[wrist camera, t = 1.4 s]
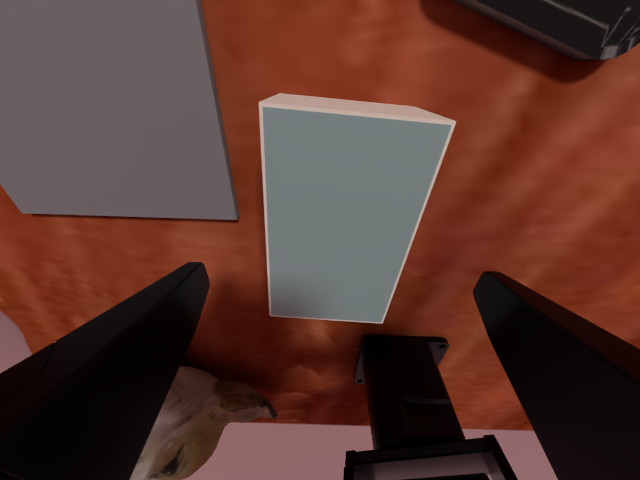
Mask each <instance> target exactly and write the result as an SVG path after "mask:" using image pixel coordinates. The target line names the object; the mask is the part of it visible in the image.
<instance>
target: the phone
mask: <svg viewBox="0 0 640 480" xmlns="http://www.w3.org/2000/svg"><path fill="white" fill-rule="evenodd" d="M454 1H456V2H458V3H460V4H462V5H464V6H466V7H468V8H470V9H472V10H474V11H476V12H479V13H481V14H483V15H485V16H487V17H489V18H491V19H493V20H495V21H497V22H499V23H501V24H503V25H505V26H507V27H509V28H511V29H513V30H515V31H518V32H520V33H522V34H524V35H526V36H528V37H530V38H532V39H534V40H536V41H538V42H540V43H542V44H544V45H546V46H548V47H550V48H552V49H554V50H557V51H559V52H561V53H563V54H565V55H567V56H569V57H571V58H573V59H576V60H581V61H593V60H606V59H611V58H615V57H617V56H619V55H622V54H624V53H626V52H628V51H629V50H630V49H632V48H633V47H634V46H636V45H637V44H639V43H640V0H454Z"/></svg>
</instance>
